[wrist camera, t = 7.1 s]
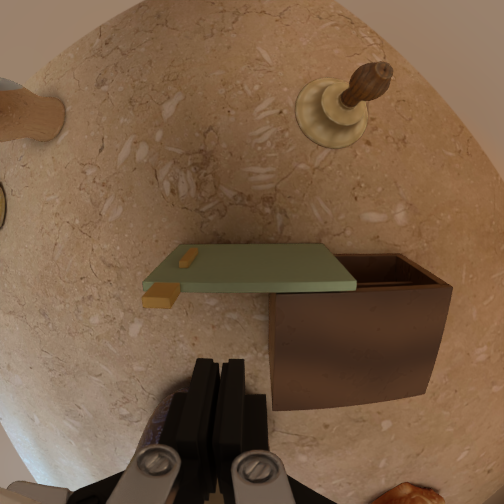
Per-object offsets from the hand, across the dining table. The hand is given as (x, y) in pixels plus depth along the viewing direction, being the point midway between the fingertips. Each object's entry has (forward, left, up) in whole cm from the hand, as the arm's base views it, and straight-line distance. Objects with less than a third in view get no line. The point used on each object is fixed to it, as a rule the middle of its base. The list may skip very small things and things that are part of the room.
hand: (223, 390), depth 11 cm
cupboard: (+7, +11, -25) cm, 28 cm away
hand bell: (-15, +10, -25) cm, 31 cm away
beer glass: (-17, -25, -25) cm, 39 cm away
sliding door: (0, +1, -25) cm, 25 cm away
